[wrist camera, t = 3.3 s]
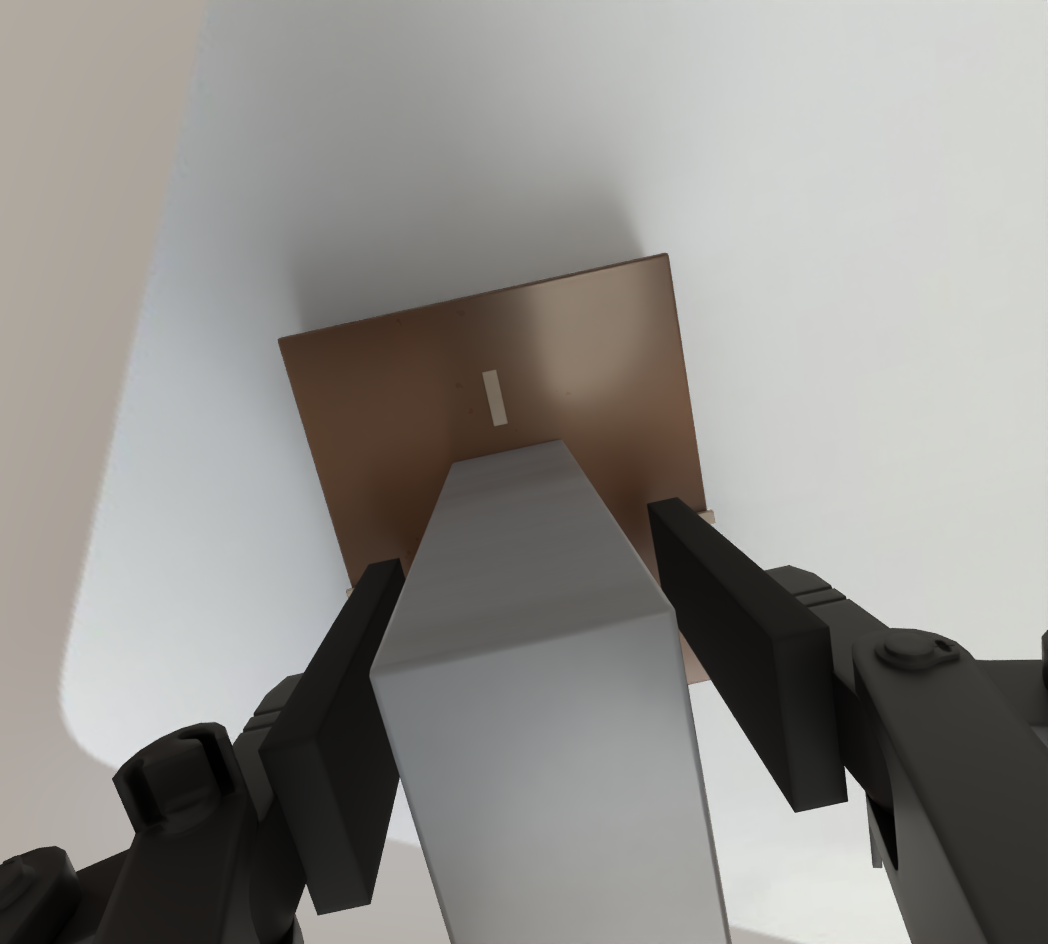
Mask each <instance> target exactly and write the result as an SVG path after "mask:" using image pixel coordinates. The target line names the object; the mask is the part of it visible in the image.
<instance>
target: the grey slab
mask: <svg viewBox="0 0 1048 944" xmlns="http://www.w3.org/2000/svg"><path fill="white" fill-rule="evenodd" d="M369 677H370V680H371V683H372V687H373V690H374V693H375V697H376V700H377V703H378V706H379V710H380V713H381V716H382V719H383V723H384V726H385V729H386V733H387V736H388V739H389V742H390V746H391V749H392V752H393V755H394V759H395V762H396V765H397V769H398V772H399V775H400V778H401V782H402V785H403V788H404V791H405V795H406V798H407V801H408V805H409V808H410V811H411V814H412V818H413V821H414V824H415V827H416V831H417V834H418V837H419V841H420V844H421V847H422V850H423V853H424V857H425V860H426V863H427V867H428V870H429V873H430V877H431V880H432V883H433V886H434V889H435V893H436V896H437V899H438V903H439V906H440V909H441V912H442V916H443V919H444V922H445V926H446V929H447V932H448V935H449V939H450V942H451V944H732V942H731V936H730V930H729V924H728V918H727V913H726V907H725V901H724V895H723V889H722V883H721V877H720V871H719V865H718V860H717V854H716V848H715V842H714V836H713V830H712V824H711V818H710V813H709V807H708V801H707V795H706V789H705V783H704V777H703V771H702V765H701V760H700V754H699V748H698V742H697V736H696V730H695V724H694V718H693V713H692V707H691V701H690V695H689V689H688V683H687V677H686V671H685V666H684V660H683V654H682V648H681V642H680V636H679V630H678V624H677V618H676V613H675V609H674V607H673V606H672V604H671V603H670V601H669V600H668V598H667V597H666V595H665V594H664V592H663V591H662V589H661V588H660V586H659V585H658V583H657V582H656V580H655V579H654V577H653V576H652V574H651V573H650V571H649V570H648V568H647V567H646V565H645V564H644V562H643V561H642V559H641V558H640V556H639V555H638V553H637V552H636V550H635V549H634V547H633V546H632V544H631V543H630V541H629V540H628V538H627V537H626V535H625V534H624V532H623V531H622V529H621V528H620V526H619V525H618V523H617V522H616V520H615V519H614V517H613V516H612V514H611V513H610V511H609V510H608V508H607V507H606V505H605V504H604V502H603V501H602V499H601V498H600V496H599V494H598V493H597V491H596V490H595V488H594V487H593V485H592V484H591V482H590V481H589V479H588V478H587V476H586V475H585V473H584V472H583V470H582V469H581V467H580V466H579V464H578V463H577V461H576V460H575V458H574V457H573V455H572V454H571V452H570V451H569V449H568V448H567V446H566V445H565V443H564V442H563V440H555V441H550V442H546V443H541V444H537V445H532V446H528V447H523V448H519V449H514V450H509V451H505V452H500V453H496V454H491V455H487V456H482V457H477V458H473V459H468V460H464V461H459V462H455V463H453V464H452V465H451V468H450V470H449V473H448V476H447V478H446V481H445V483H444V486H443V488H442V491H441V493H440V496H439V498H438V501H437V503H436V506H435V508H434V511H433V513H432V516H431V518H430V521H429V523H428V526H427V528H426V531H425V533H424V536H423V538H422V541H421V543H420V546H419V548H418V551H417V553H416V556H415V558H414V561H413V563H412V566H411V568H410V571H409V573H408V576H407V578H406V581H405V583H404V586H403V588H402V591H401V593H400V596H399V598H398V601H397V604H396V606H395V609H394V611H393V614H392V616H391V619H390V621H389V624H388V626H387V629H386V631H385V634H384V636H383V639H382V641H381V644H380V646H379V649H378V651H377V654H376V656H375V659H374V661H373V664H372V666H371V669H370V675H369Z"/></svg>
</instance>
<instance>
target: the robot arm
mask: <svg viewBox="0 0 1048 944" xmlns="http://www.w3.org/2000/svg"><path fill="white" fill-rule="evenodd" d="M647 509H648V515H649V521H650V527H651V532H652V538H653V544H654V550H655V555H656V561H657V567H658V573H659V578H660V584H661V589H662V591H663V592H664V594H665V595H666V597H667V598H668V600H669V601H670V603H671V604H672V606H673V607H674V609H675V613H676V618H677V624H678V629H679V630H680V632H681V633H682V635H683V636H684V638H685V640H686V641H687V643H688V644H689V646H690V648H691V649H692V651H693V652H694V654H695V655H696V657H697V659H698V660H699V662H700V663H701V665H702V667H703V668H704V670H705V671H706V673H707V674H708V676H709V678H710V679H711V681H712V682H713V684H714V686H715V687H716V689H717V690H718V692H719V693H720V695H721V697H722V698H723V700H724V701H725V703H726V705H727V706H728V708H729V709H730V711H731V712H732V714H733V716H734V717H735V719H736V720H737V722H738V724H739V725H740V727H741V728H742V730H743V731H744V733H745V735H746V736H747V738H748V739H749V741H750V743H751V744H752V746H753V747H754V749H755V750H756V752H757V754H758V755H759V757H760V758H761V760H762V761H763V763H764V765H765V766H766V768H767V769H768V771H769V773H770V774H771V776H772V777H773V779H774V780H775V782H776V784H777V785H778V787H779V788H780V790H781V792H782V793H783V795H784V796H785V798H786V799H787V801H788V803H789V804H790V806H791V807H792V809H793V811H794V812H795V813H797V812H801V811H806V810H811V809H815V808H820V807H825V806H829V805H834V804H838V803H843V802H848V796H847V786H846V777H845V767H846V768H847V769H848V771H849V772H850V773H851V774H852V776H853V777H854V778H855V779H856V780H857V782H858V783H859V784H860V785H861V787H862V788H863V789H864V790H865V793H866V803H867V813H868V823H869V833H870V844H871V854H872V864H873V868H882V861H883V864H884V867H885V870H886V872H887V875H888V878H889V881H890V884H891V886H892V889H893V892H894V895H895V898H896V901H897V903H898V906H899V909H900V912H901V915H902V917H903V920H904V923H905V926H906V929H907V932H908V934H909V937H910V940H911V943H912V944H1048V630H1047V631H1046V632H1045V633H1044V635H1043V636H1042V660H975V659H974V657H973V656H972V655H971V654H970V653H969V652H968V651H967V650H966V649H964V648H963V647H962V646H961V645H959V644H958V643H957V642H955V641H953V640H951V639H948V638H946V637H943V636H941V635H939V634H936V633H931V632H926V631H922V630H917V629H902V628H889V627H887V626H886V625H885V624H883V623H882V622H881V621H879V620H878V619H876V618H875V617H874V616H872V615H871V614H870V613H868V612H867V611H865V610H864V609H863V608H861V607H860V606H858V605H857V604H856V603H854V602H853V601H852V600H850V599H846V596H845V595H843V594H842V593H841V592H839V591H838V590H836V589H835V588H834V589H832V587H831V585H830V584H828V583H827V582H825V581H824V580H823V579H821V578H820V577H818V576H817V575H816V574H814V573H811V572H808V571H805V570H802V569H799V568H796V567H793V566H790V565H788V566H783V567H779V568H774V569H770V570H765V571H764V570H763V569H761V568H760V567H759V566H758V565H757V564H756V563H754V562H753V561H752V560H751V559H750V558H749V557H747V556H746V555H745V554H744V553H743V552H742V551H740V550H739V549H738V548H737V547H736V546H734V545H733V544H732V543H731V542H730V541H729V540H727V539H726V538H725V537H724V536H723V535H722V534H720V533H719V532H718V531H717V530H716V529H715V528H713V527H712V526H711V525H710V524H709V523H707V522H706V521H705V520H704V519H703V518H702V517H700V516H699V515H698V514H697V513H696V512H695V511H693V510H692V509H691V508H690V507H689V506H688V505H686V504H685V503H684V502H683V501H682V500H680V499H679V498H678V497H674V498H670V499H665V500H661V501H656V502H652V503H647ZM405 581H406V579H405V576H404V572H403V569H402V565H401V561H400V558H395V559H391V560H386V561H381V562H377V563H372V564H369V565H368V566H367V568H366V570H365V571H364V573H363V575H362V576H361V578H360V580H359V581H358V583H357V585H356V586H355V588H354V590H353V591H352V593H351V595H350V596H349V598H348V600H347V601H346V603H345V605H344V606H343V608H342V610H341V612H340V613H339V615H338V617H337V618H336V620H335V622H334V623H333V625H332V627H331V628H330V630H329V632H328V633H327V635H326V637H325V638H324V640H323V642H322V643H321V645H320V647H319V648H318V650H317V652H316V653H315V655H314V657H313V658H312V660H311V662H310V663H309V665H308V667H307V668H306V670H305V672H304V673H301V674H296V675H292V676H287V677H286V678H285V679H284V680H283V681H281V682H280V683H279V684H278V685H277V686H276V687H275V688H273V689H272V690H271V691H270V692H269V693H268V694H266V696H265V697H264V699H263V700H262V702H261V703H260V705H259V706H258V708H257V709H256V711H255V712H254V717H251V718H250V720H249V721H248V723H247V724H246V726H245V727H244V729H243V733H240V735H239V736H238V738H237V739H236V741H235V742H234V744H233V745H232V744H231V742H230V739H229V736H228V734H227V731H226V728H225V727H224V726H222V725H220V724H218V723H216V722H212V723H199V724H195V725H191V726H188V727H184V728H181V729H179V730H177V731H174V732H172V733H170V734H168V735H165V736H163V737H161V738H159V739H158V740H156V741H154V742H153V743H151V744H149V745H148V746H146V747H145V748H143V749H141V750H140V751H139V752H137V753H136V754H135V755H134V756H133V757H131V758H130V759H129V760H128V761H127V762H125V763H124V764H123V765H122V766H121V768H120V769H119V770H118V772H117V773H116V774H115V776H114V777H113V778H112V780H113V782H114V785H115V787H116V789H117V791H118V794H119V796H120V798H121V801H122V803H123V805H124V808H125V810H126V812H127V815H128V817H129V819H130V821H131V824H132V826H133V828H134V831H135V833H136V834H135V837H134V839H133V842H132V844H131V847H130V849H128V850H125V851H123V852H121V853H119V854H116V855H114V856H111V857H109V858H107V859H105V860H102V861H100V862H98V863H95V864H93V865H91V866H88V867H86V868H84V869H81V870H79V871H77V872H75V870H74V868H73V866H72V864H71V862H70V859H69V857H68V855H67V853H66V851H65V850H63V849H61V848H59V847H57V846H52V847H44V848H38V849H35V850H32V851H29V852H27V853H24V854H21V855H17V856H14V857H12V858H10V859H8V860H6V861H4V862H3V864H1V865H0V944H304V940H303V936H302V932H301V928H300V926H299V923H298V920H297V918H296V915H295V912H296V909H297V907H298V904H299V901H300V898H301V895H302V893H303V890H304V887H305V884H306V885H307V887H308V890H309V893H310V896H311V898H312V901H313V904H314V907H315V909H316V912H317V915H322V914H327V913H332V912H337V911H341V910H346V909H351V908H355V907H360V906H364V905H369V904H371V900H372V895H373V891H374V887H375V882H376V878H377V874H378V869H379V865H380V861H381V856H382V851H383V848H384V843H385V839H386V835H387V830H388V826H389V822H390V817H391V813H392V809H393V804H394V800H395V796H396V791H397V787H398V783H399V778H400V775H399V772H398V769H397V765H396V762H395V759H394V755H393V752H392V749H391V746H390V742H389V739H388V736H387V733H386V729H385V726H384V723H383V719H382V716H381V713H380V710H379V706H378V703H377V700H376V697H375V693H374V690H373V687H372V683H371V680H370V677H369V675H370V669H371V666H372V664H373V661H374V659H375V656H376V654H377V651H378V649H379V646H380V644H381V641H382V639H383V636H384V634H385V631H386V629H387V626H388V624H389V621H390V619H391V616H392V614H393V611H394V609H395V606H396V604H397V601H398V598H399V596H400V593H401V591H402V588H403V586H404V583H405ZM844 766H845V767H844Z"/></svg>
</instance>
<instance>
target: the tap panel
mask: <svg viewBox="0 0 1048 944" xmlns="http://www.w3.org/2000/svg"><path fill="white" fill-rule="evenodd" d="M278 344H279V347H280V351H281V354H282V357H283V361H284V364H285V367H286V371H287V374H288V377H289V380H290V384H291V387H292V390H293V394H294V397H295V400H296V404H297V407H298V410H299V414H300V417H301V420H302V424H303V427H304V430H305V434H306V437H307V440H308V443H309V447H310V450H311V453H312V457H313V460H314V463H315V467H316V470H317V473H318V477H319V480H320V483H321V487H322V490H323V493H324V497H325V500H326V503H327V506H328V510H329V513H330V516H331V520H332V523H333V526H334V530H335V533H336V536H337V540H338V543H339V546H340V550H341V553H342V556H343V560H344V563H345V566H346V569H347V573H348V576H349V579H350V583H351V586H352V588H350V589H347V591H346V592H347V596H348V598H349V596H350V595H351V593H352V591H353V590H354V588H355V586H356V585H357V583H358V581H359V580H360V578H361V576H362V575H363V573H364V571H365V570H366V568H367V566H368V565H369V564H372V563H377V562H381V561H386V560H391V559H395V558H400V561H401V565H402V569H403V572H404V576H405V579H406V578H407V576H408V573H409V571H410V568H411V566H412V563H413V561H414V558H415V556H416V553H417V551H418V548H419V546H420V543H421V541H422V538H423V536H424V533H425V531H426V528H427V526H428V523H429V521H430V518H431V516H432V513H433V511H434V508H435V506H436V503H437V501H438V498H439V496H440V493H441V491H442V488H443V486H444V483H445V481H446V478H447V476H448V473H449V470H450V468H451V465H452V464H453V463H455V462H459V461H464V460H468V459H473V458H477V457H482V456H487V455H491V454H496V453H500V452H505V451H509V450H514V449H519V448H523V447H528V446H532V445H537V444H541V443H546V442H550V441H555V440H563V442H564V443H565V445H566V446H567V448H568V449H569V451H570V452H571V454H572V455H573V457H574V458H575V460H576V461H577V463H578V464H579V466H580V467H581V469H582V470H583V472H584V473H585V475H586V476H587V478H588V479H589V481H590V482H591V484H592V485H593V487H594V488H595V490H596V491H597V493H598V494H599V496H600V498H601V499H602V501H603V502H604V504H605V505H606V507H607V508H608V510H609V511H610V513H611V514H612V516H613V517H614V519H615V520H616V522H617V523H618V525H619V526H620V528H621V529H622V531H623V532H624V534H625V535H626V537H627V538H628V540H629V541H630V543H631V544H632V546H633V547H634V549H635V550H636V552H637V553H638V555H639V556H640V558H641V559H642V561H643V562H644V564H645V565H646V567H647V568H648V570H649V571H650V573H651V574H652V576H653V577H654V579H655V580H656V582H657V583H658V585H659V586H660V588H661V584H660V578H659V573H658V567H657V561H656V555H655V550H654V544H653V538H652V532H651V527H650V521H649V515H648V509H647V503H652V502H656V501H661V500H665V499H670V498H674V497H678V498H679V499H680V500H682V501H683V502H684V503H685V504H686V505H688V506H689V507H690V508H691V509H692V510H693V511H695V512H696V513H697V514H698V515H699V516H700V517H702V518H703V519H704V520H705V521H706V522H707V523H709V524H714V523H715V519H714V512H713V510H707V507H706V501H705V494H704V487H703V481H702V474H701V467H700V461H699V454H698V447H697V441H696V434H695V427H694V421H693V414H692V408H691V401H690V394H689V388H688V381H687V374H686V368H685V361H684V354H683V348H682V341H681V334H680V328H679V321H678V315H677V308H676V301H675V295H674V288H673V281H672V275H671V268H670V261H669V255H668V254H667V253H662V254H657V255H652V256H648V257H643V258H639V259H634V260H630V261H625V262H621V263H616V264H612V265H607V266H603V267H598V268H594V269H589V270H584V271H580V272H575V273H571V274H566V275H562V276H557V277H553V278H548V279H544V280H539V281H535V282H530V283H526V284H521V285H517V286H512V287H507V288H503V289H498V290H494V291H489V292H485V293H480V294H476V295H471V296H467V297H462V298H458V299H453V300H449V301H444V302H440V303H435V304H430V305H426V306H421V307H417V308H412V309H408V310H403V311H399V312H394V313H390V314H385V315H381V316H376V317H372V318H367V319H363V320H358V321H353V322H349V323H344V324H340V325H335V326H331V327H326V328H322V329H317V330H313V331H308V332H304V333H299V334H295V335H290V336H286V337H281V338H279V339H278ZM678 630H679V629H678ZM679 636H680V642H681V648H682V654H683V660H684V666H685V671H686V677H687V683H688V685H689V684H694V683H698V682H703V681H707V680H711V679H710V678H709V676H708V674H707V673H706V671H705V670H704V668H703V667H702V665H701V663H700V662H699V660H698V659H697V657H696V655H695V654H694V652H693V651H692V649H691V648H690V646H689V644H688V643H687V641H686V640H685V638H684V636H683V635H682V633H681V632H680V630H679Z"/></svg>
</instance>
